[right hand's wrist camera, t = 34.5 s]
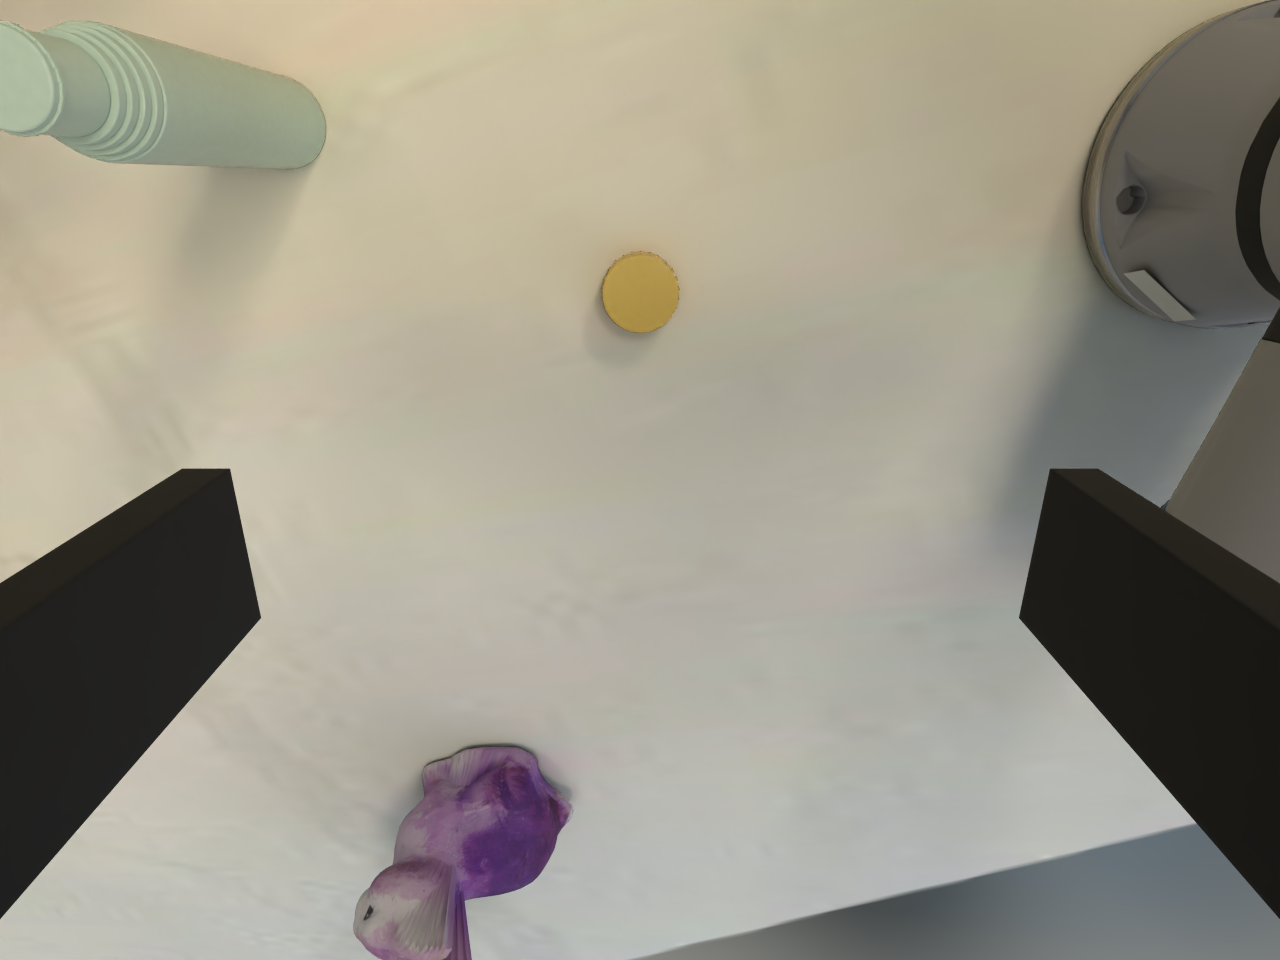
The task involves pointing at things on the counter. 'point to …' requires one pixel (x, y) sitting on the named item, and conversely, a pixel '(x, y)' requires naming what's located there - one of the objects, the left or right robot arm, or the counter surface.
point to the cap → (640, 292)
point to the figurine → (460, 852)
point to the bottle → (152, 100)
